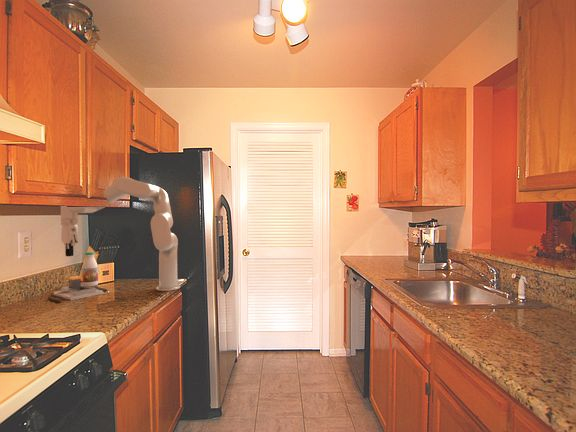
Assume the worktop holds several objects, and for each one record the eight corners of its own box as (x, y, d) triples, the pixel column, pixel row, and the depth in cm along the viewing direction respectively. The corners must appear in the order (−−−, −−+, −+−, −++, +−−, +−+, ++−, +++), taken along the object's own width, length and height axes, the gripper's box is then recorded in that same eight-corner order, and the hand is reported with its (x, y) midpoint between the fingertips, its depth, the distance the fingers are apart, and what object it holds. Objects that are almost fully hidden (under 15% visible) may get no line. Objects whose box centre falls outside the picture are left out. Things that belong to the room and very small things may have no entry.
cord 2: (91, 289, 176) (91, 287, 176) (96, 288, 178) (96, 286, 178) (102, 292, 169) (102, 290, 169) (107, 291, 171) (107, 289, 171)
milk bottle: (80, 286, 183) (79, 252, 183) (94, 283, 190) (93, 250, 190) (86, 287, 179) (85, 253, 179) (100, 285, 185) (99, 251, 185)
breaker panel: (85, 288, 176) (84, 282, 176) (103, 293, 165) (102, 287, 165) (53, 294, 164) (53, 288, 164) (70, 300, 153) (70, 293, 153)
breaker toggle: (77, 288, 170) (77, 276, 170) (80, 289, 168) (80, 276, 167) (69, 290, 166) (68, 277, 166) (72, 291, 164) (72, 278, 164)
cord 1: (48, 299, 155) (48, 297, 155) (51, 298, 156) (51, 296, 156) (59, 303, 148) (59, 300, 148) (62, 302, 149) (62, 300, 149)
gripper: (83, 222, 169) (83, 256, 169) (70, 221, 177) (71, 254, 177) (67, 222, 162) (67, 257, 163) (55, 222, 170) (55, 255, 171)
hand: (69, 255), depth 170 cm, fingers closed
